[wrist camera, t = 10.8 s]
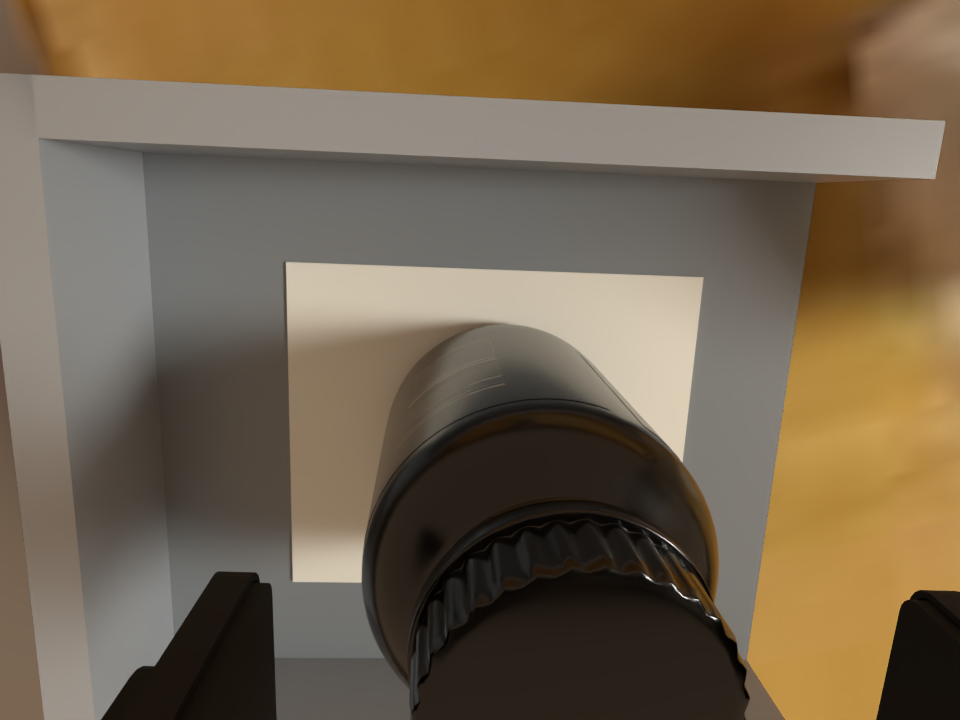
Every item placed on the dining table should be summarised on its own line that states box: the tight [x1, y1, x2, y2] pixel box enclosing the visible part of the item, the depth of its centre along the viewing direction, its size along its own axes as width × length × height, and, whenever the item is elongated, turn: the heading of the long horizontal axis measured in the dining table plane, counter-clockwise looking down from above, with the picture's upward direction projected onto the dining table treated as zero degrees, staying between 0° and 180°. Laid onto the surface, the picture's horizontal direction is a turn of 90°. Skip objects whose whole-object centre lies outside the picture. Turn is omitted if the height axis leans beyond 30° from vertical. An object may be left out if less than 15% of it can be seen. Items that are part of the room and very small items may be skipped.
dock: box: [0, 73, 946, 720], centre depth 20 cm, size 20×18×7 cm
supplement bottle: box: [362, 324, 750, 720], centre depth 15 cm, size 7×7×12 cm
